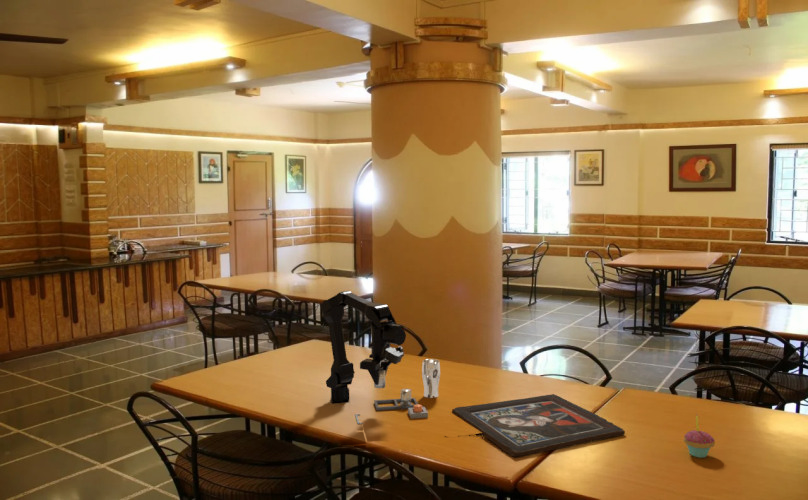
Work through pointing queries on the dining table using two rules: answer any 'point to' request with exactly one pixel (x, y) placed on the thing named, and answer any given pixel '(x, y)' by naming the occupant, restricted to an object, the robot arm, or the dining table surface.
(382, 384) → the cylinder
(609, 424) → the religious icon
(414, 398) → the grey divided tray
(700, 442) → the cupcake
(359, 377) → the dining table surface
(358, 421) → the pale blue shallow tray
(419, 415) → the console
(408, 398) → the cylinder
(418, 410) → the brown egg
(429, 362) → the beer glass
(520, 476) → the dining table surface
